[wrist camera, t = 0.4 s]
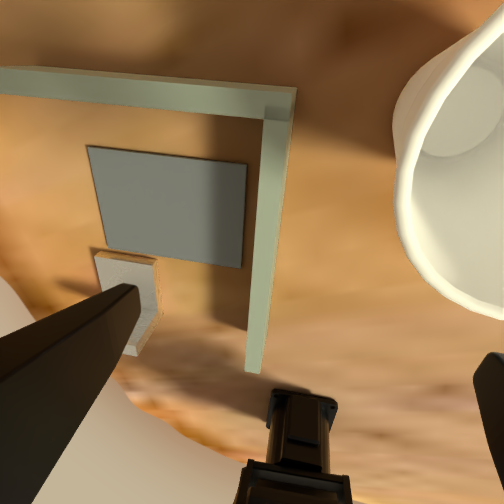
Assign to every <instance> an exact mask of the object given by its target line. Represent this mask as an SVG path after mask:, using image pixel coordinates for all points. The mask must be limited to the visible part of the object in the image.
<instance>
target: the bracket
mask: <svg viewBox="0 0 504 504" xmlns="http://www.w3.org/2000/svg"><path fill="white" fill-rule="evenodd" d="M94 259H95V263H96V267H97V271H98V276H99V280H100V284H101V288H102V292H103V291H105V290H107V289H110V288H112V287H114V286H116V285H119V284H121V283H128V284H133V285H136V286H137V287H138V288H139V294H140V302H141V314H140V317H139V319H138V321H137V323H136V325H135V328H134V330H133V332H132V334H131V336H130V338H129V340H128V342H127V344H126V346H125V349H124V351H123V353H122V354H126V355H131V356H136V357H138V355H139V353H140V352H141V350H142V349H143V347H144V345H145V344H146V342H147V340H148V339H149V337H150V336H151V334H152V332H153V331H154V329H155V327H156V326H157V324H158V323H159V321H160V319H161V318H162V316H163V314H164V313H163V304H162V295H161V287H160V278H159V269H158V260H157V259H152V258H146V257H139V256H133V255H127V254H120V253H114V252H108V251H100V252H98V253H97V254H96V255H95V256H94Z"/></svg>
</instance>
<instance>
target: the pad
mask: <svg viewBox="0 0 504 504" xmlns="http://www.w3.org/2000/svg"><path fill="white" fill-rule="evenodd" d="M87 148H88V153H89V158H90V163H91V168H92V172H93V177H94V182H95V187H96V192H97V197H98V201H99V206H100V211H101V216H102V221H103V225H104V230H105V235H106V240H107V245H108V248H111V249H117V250H124V251H130V252H136V253H143V254H149V255H156V256H162V257H168V258H175V259H181V260H188V261H194V262H200V263H207V264H213V265H219V266H226V267H232V268H239V269H241V267H242V248H243V230H244V212H245V193H246V175H247V164H240V163H231V162H223V161H214V160H205V159H197V158H188V157H179V156H171V155H162V154H153V153H145V152H136V151H127V150H119V149H110V148H101V147H93V146H89V147H87Z"/></svg>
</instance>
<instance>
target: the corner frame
mask: <svg viewBox="0 0 504 504" xmlns="http://www.w3.org/2000/svg"><path fill="white" fill-rule="evenodd" d="M0 94H9V95H19V96H29V97H40V98H50V99H60V100H71V101H81V102H91V103H102V104H112V105H122V106H132V107H143V108H153V109H163V110H174V111H184V112H194V113H204V114H215V115H225V116H235V117H246V118H256V119H264V123H263V136H262V149H261V162H260V175H259V188H258V201H257V214H256V227H255V240H254V253H253V266H252V279H251V292H250V305H249V318H248V331H247V344H246V357H245V370H244V371H246V372H251V373H256V374H260V369H261V364H262V358H263V353H264V348H265V342H266V337H267V330H268V321H269V313H270V305H271V297H272V289H273V281H274V273H275V265H276V256H277V248H278V240H279V232H280V224H281V216H282V208H283V200H284V191H285V183H286V175H287V167H288V159H289V151H290V143H291V135H292V126H293V118H294V110H295V102H296V94H297V87H287V86H275V85H263V84H251V83H239V82H227V81H215V80H203V79H191V78H179V77H167V76H155V75H143V74H131V73H119V72H107V71H96V70H84V69H72V68H60V67H48V66H0Z"/></svg>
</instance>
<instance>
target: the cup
mask: <svg viewBox="0 0 504 504" xmlns="http://www.w3.org/2000/svg"><path fill="white" fill-rule="evenodd" d="M392 131H393V139H394V147H395V155H396V165H397V168H396V173H395V184H394V196H393V208H394V215H395V222H396V229H397V234H398V236H399V239H400V241H401V243H402V246H403V248H404V251H405V253H406V256H407V258H408V259H409V261H410V262H411V263H412V265H413V266H414V267H415V269H416V270H417V271H418V273H419V274H420V275H421V277H422V278H423V279H424V280H425V281H426V282H427V283H428V284H429V285H431V286H432V287H433V288H434V289H435V290H437V291H438V292H439V293H440V294H441V295H443V296H444V297H446V298H448V299H449V300H451V301H453V302H455V303H457V304H459V305H461V306H463V307H465V308H466V309H468V310H470V311H473V312H477V313H480V314H483V315H486V316H489V317H492V318H496V319H499V320H504V3H503V4H501V5H500V6H499V7H498V9H497V10H496V11H495V12H494V13H493V14H492V15H491V16H490V17H489V18H488V19H487V20H486V21H485V22H484V23H483V24H482V25H481V26H480V27H479V28H477V29H475V30H474V31H473V32H471V33H469V34H468V35H467V36H465V37H464V38H462V39H461V40H459V41H458V42H456V43H455V44H453V45H452V46H450V47H449V48H447V49H446V50H444V51H443V52H441V53H440V54H438V55H437V56H435V57H434V58H432V59H431V60H430V61H428V62H427V63H426V64H425V65H423V66H422V67H421V68H420V69H419V70H418V71H417V72H416V73H415V74H414V75H413V76H412V77H411V78H410V80H409V81H408V83H407V84H406V86H405V87H404V89H403V90H402V92H401V94H400V96H399V98H398V100H397V103H396V106H395V110H394V113H393V121H392Z"/></svg>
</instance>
